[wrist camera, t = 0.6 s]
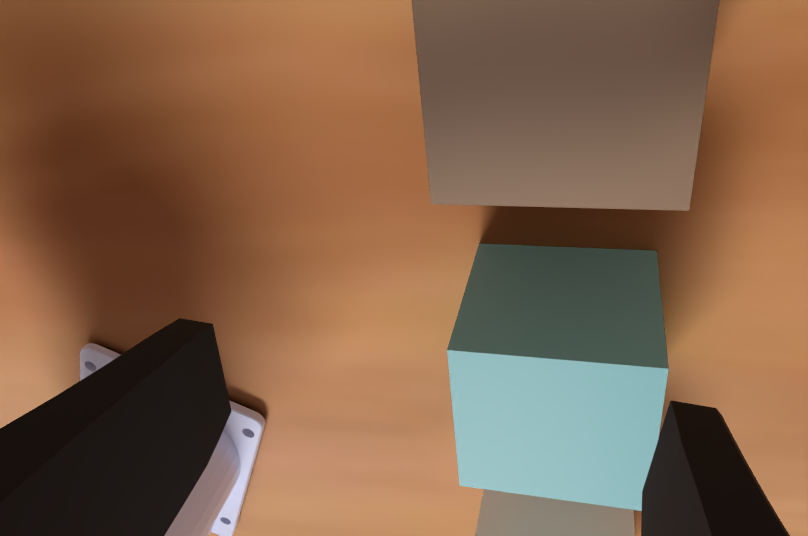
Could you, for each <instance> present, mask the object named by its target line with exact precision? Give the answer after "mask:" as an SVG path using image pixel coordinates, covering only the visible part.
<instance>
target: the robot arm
mask: <svg viewBox="0 0 808 536" xmlns="http://www.w3.org/2000/svg"><path fill="white" fill-rule="evenodd" d="M264 427H265V420H264V418H263V416H262V415H261V414H259V413H258V412H256V411H253V410H251V409H249V408H246V407H244V406H242V405H239V404H237V403H234V402H232V401H230V400H229V397H228V393H227V388H226V383H225V379H224V374H223V369H222V365H221V360H220V356H219V351H218V346H217V342H216V337H215V332H214V328H213V324H210V323H204V322H198V321H192V320H186V319H178V320H176V321H174V322H173V323H171V324H169V325H168V326H166V327H164V328H163V329H161V330H159V331H158V332H156V333H155V334H153V335H151V336H150V337H148V338H147V339H145V340H144V341H142V342H140V343H139V344H137V345H136V346H134V347H133V348H131V349H130V350H128V351H126V352H125V353H123V354H122V355H121V354H118V353H116V352H114V351H111V350H109V349H107V348H104V347H102V346H99V345H97V344H94V343H88V344H86V345H85V346H84V347H83V348H82V349H81V351H80V381H79V382H78V383H76V384H75V385H73V386H71V387H70V388H68V389H67V390H65V391H63V392H62V393H60V394H59V395H57V396H55V397H54V398H52V399H50V400H49V401H47V402H45V403H43V404H42V405H40V406H38V407H37V408H35V409H33V410H31V411H30V412H28V413H26V414H25V415H23V416H21V417H19V418H18V419H16V420H14V421H13V422H11V423H9V424H7V425H6V426H4V427H2V428H1V429H0V536H209V534H210V532H213V533H215V534H218V535H220V536H232V535H233V533H234V532H235V530H236V526H237V523H238V519H239V516H240V512H241V509H242V505H243V501H244V498H245V494H246V491H247V487H248V484H249V480H250V477H251V473H252V469H253V466H254V462H255V459H256V455H257V452H258V448H259V445H260V441H261V437H262V434H263V430H264ZM641 536H790V535H789V534H788V532H787V530H786V529H785V527H784V526H783V524H782V522H781V521H780V519H779V518H778V516H777V514H776V513H775V511H774V509H773V508H772V506H771V504H770V502H769V501H768V499H767V497H766V496H765V494H764V492H763V490H762V489H761V487H760V485H759V483H758V482H757V480H756V478H755V476H754V475H753V473H752V471H751V469H750V467H749V466H748V464H747V462H746V460H745V458H744V456H743V455H742V453H741V451H740V449H739V447H738V445H737V443H736V442H735V440H734V438H733V436H732V434H731V432H730V430H729V428H728V426H727V424H726V422H725V420H724V419H723V417H722V415H721V414H720V412H719V411H718V410H717V409H716V408H712V407H706V406H700V405H694V404H688V403H682V402H676V401H670V404H669V408H668V411H667V414H666V417H665V420H664V423H663V427H662V430H661V433H660V436H659V439H658V443H657V446H656V449H655V452H654V455H653V459H652V462H651V465H650V468H649V471H648V474H647V478H646V481H645V484H644V487H643V490H642V524H641Z"/></svg>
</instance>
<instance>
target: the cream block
mask: <svg viewBox="0 0 808 536" xmlns="http://www.w3.org/2000/svg"><path fill="white" fill-rule="evenodd" d="M475 536H635V527H634V510H631V509H624V508H617V507H610V506H602V505H595V504H588V503H581V502H574V501H566V500H559V499H552V498H545V497H538V496H530V495H523V494H516V493H509V492H502V491H494V490H487V489H484V491H483V497H482V502H481V507H480V513H479V518H478V524H477V529H476V534H475Z"/></svg>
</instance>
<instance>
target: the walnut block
mask: <svg viewBox="0 0 808 536" xmlns="http://www.w3.org/2000/svg"><path fill="white" fill-rule="evenodd" d="M718 7H719V0H412V9H413V20H414V30H415V40H416V51H417V61H418V72H419V82H420V93H421V103H422V114H423V124H424V134H425V145H426V155H427V166H428V176H429V187H430V197H431V204H448V205H487V206H525V207H564V208H603V209H641V210H680V211H689V208H690V201H691V194H692V187H693V180H694V173H695V167H696V160H697V153H698V146H699V139H700V132H701V125H702V118H703V111H704V104H705V97H706V90H707V83H708V76H709V70H710V63H711V56H712V49H713V42H714V35H715V28H716V21H717V14H718Z"/></svg>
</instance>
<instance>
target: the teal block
mask: <svg viewBox="0 0 808 536" xmlns="http://www.w3.org/2000/svg"><path fill="white" fill-rule="evenodd" d="M447 354H448V364H449V375H450V386H451V397H452V407H453V418H454V429H455V440H456V451H457V461H458V472H459V483H460V486H465V487H473V488H480V489H487V490H494V491H502V492H509V493H516V494H523V495H530V496H538V497H545V498H552V499H559V500H566V501H574V502H581V503H588V504H595V505H602V506H610V507H617V508H624V509H631V510H638V511H642V490H643V487H644V484H645V481H646V478H647V474H648V471H649V468H650V465H651V462H652V459H653V455H654V452H655V449H656V446H657V443H658V438H659V431H660V424H661V417H662V411H663V404H664V397H665V390H666V383H667V377H668V370H669V367H668V358H667V348H666V338H665V328H664V318H663V308H662V299H661V289H660V279H659V269H658V259H657V251H652V250H627V249H603V248H578V247H554V246H529V245H505V244H480V243H479V246H478V249H477V253H476V256H475V259H474V263H473V266H472V269H471V273H470V276H469V279H468V283H467V286H466V289H465V293H464V296H463V299H462V303H461V306H460V309H459V312H458V316H457V319H456V322H455V326H454V329H453V332H452V336H451V339H450V342H449V346H448V349H447Z"/></svg>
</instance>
